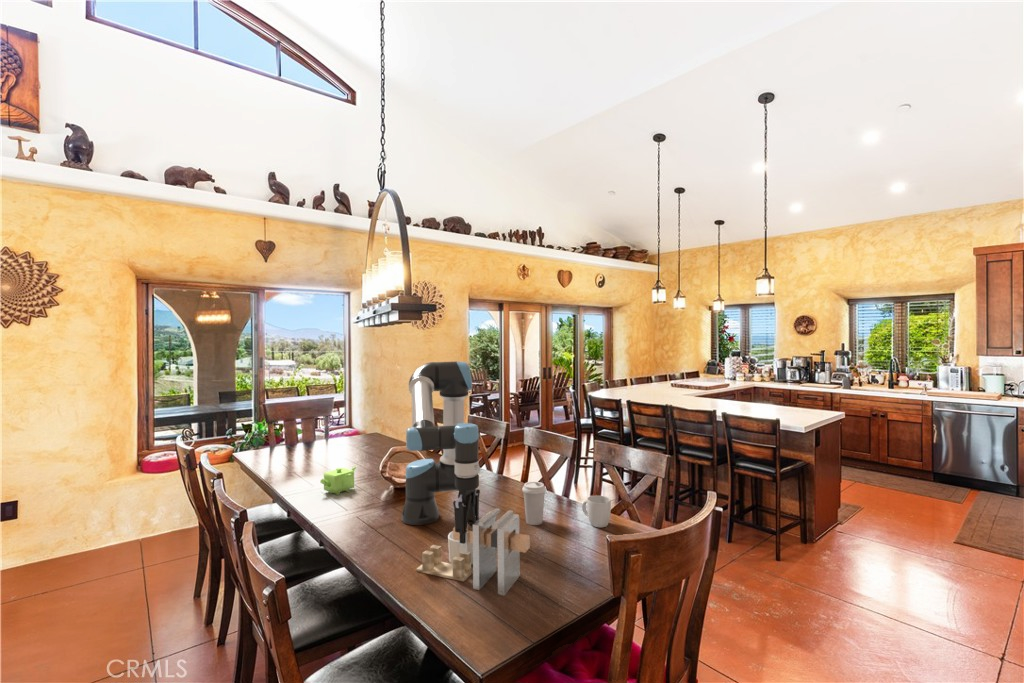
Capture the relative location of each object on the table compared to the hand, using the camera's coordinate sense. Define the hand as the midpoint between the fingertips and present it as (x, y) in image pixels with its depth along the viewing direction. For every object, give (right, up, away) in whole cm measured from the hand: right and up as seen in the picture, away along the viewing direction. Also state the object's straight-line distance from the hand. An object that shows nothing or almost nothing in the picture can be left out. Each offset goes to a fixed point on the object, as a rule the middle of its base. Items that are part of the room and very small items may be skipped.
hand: (467, 549), depth 145 cm
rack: (-7, -8, +3) cm, 11 cm away
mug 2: (+47, -8, +40) cm, 62 cm away
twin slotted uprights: (+9, -8, -4) cm, 13 cm away
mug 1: (-1, -8, +12) cm, 15 cm away
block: (+7, +5, -3) cm, 9 cm away
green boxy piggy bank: (-69, -8, +81) cm, 107 cm away
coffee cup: (+23, -8, +42) cm, 48 cm away
